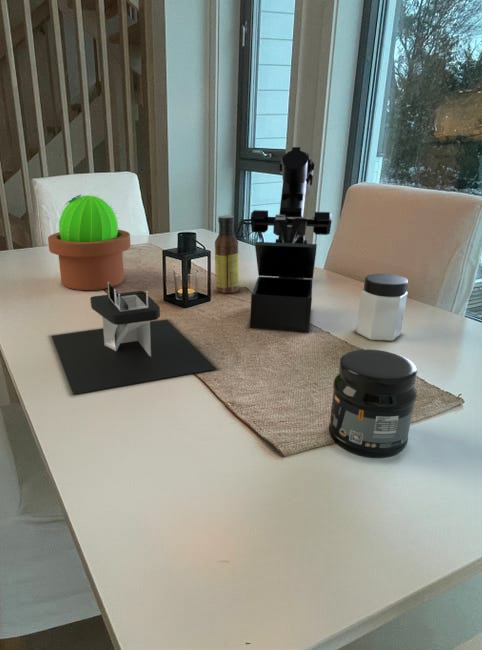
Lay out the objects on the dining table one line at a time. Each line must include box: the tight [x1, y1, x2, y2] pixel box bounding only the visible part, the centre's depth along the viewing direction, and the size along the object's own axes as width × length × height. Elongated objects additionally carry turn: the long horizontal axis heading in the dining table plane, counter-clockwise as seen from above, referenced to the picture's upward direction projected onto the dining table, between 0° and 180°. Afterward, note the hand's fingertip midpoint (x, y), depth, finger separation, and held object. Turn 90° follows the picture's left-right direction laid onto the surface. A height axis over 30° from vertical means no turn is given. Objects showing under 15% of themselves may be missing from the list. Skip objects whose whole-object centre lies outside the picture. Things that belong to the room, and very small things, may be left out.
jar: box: [355, 273, 409, 342], centre depth 106 cm, size 9×8×12 cm
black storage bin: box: [249, 275, 314, 334], centre depth 116 cm, size 15×13×8 cm
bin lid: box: [254, 241, 318, 280], centre depth 113 cm, size 15×13×1 cm
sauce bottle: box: [214, 214, 240, 294], centre depth 134 cm, size 6×6×20 cm
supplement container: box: [328, 348, 418, 459], centre depth 70 cm, size 10×10×12 cm
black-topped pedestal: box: [51, 282, 217, 395], centre depth 99 cm, size 28×26×13 cm
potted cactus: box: [47, 193, 131, 291], centre depth 143 cm, size 22×22×25 cm
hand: (287, 252), depth 120 cm, fingers closed
